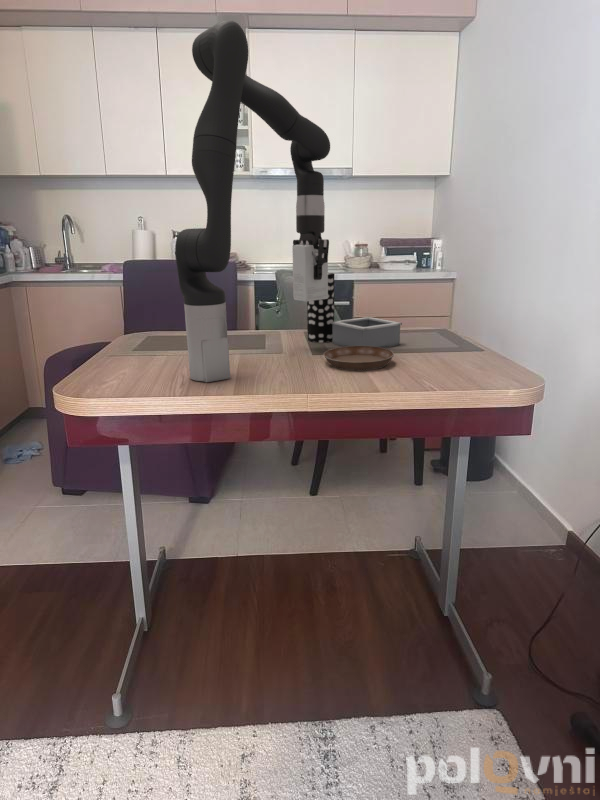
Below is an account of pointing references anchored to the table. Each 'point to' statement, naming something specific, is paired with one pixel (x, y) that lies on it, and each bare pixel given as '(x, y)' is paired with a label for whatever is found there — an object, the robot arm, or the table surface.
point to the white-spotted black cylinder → (321, 316)
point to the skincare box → (308, 275)
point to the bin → (366, 332)
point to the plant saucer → (358, 357)
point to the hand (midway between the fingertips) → (310, 278)
